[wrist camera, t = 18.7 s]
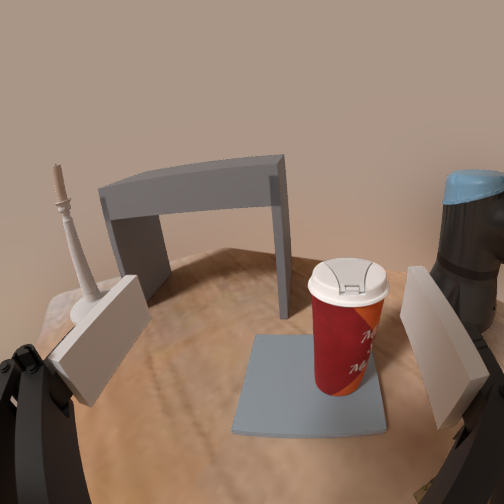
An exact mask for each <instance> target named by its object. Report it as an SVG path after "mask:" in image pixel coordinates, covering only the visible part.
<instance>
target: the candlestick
mask: <svg viewBox="0 0 504 504" xmlns="http://www.w3.org/2000/svg"><path fill="white" fill-rule="evenodd" d="M51 170H52V176H53V181H54V185H55V191H56V195H57V200H58V202H57V203H56V204H55V205H56V206H57V207H58V211H59V212H60V213H61V215H62V217H63V224H64V228H65V233H66V237H67V241H68V245H69V249H70V253H71V257H72V260H73V264H74V267H75V270H76V274H77V277H78V280H79V283H80V287H81V290H82V293H83V296H84V297H82V298H81V299H80V300H78V301H77V303H76V304H75V305H74V306H73V308H72V310H71V313H70V317H71V320H72V322H73V323H74V324H75V325H77V324H78V323H79V322H80V321H81V320H82V319H83V318H84V317H85V316H86V315H87V314H88V313H89V312H90V310H91V309H92V308H93V307H94V306H95V305H96V304H97V303H98V302H99V301H100V300H101V299H102V298H103V297H104V296H105V295H106V294H107V293H108V292H109V291H110V290H111V289H103V290H99V289H98V288H97V285H96V283H95V281H94V278H93V276H92V273H91V271H90V268H89V266H88V263H87V261H86V258H85V255H84V253H83V250H82V247H81V244H80V241H79V239H78V236H77V233H76V229H75V226H74V223H73V220H72V218H71V216H70V211H69V210H70V209H71V206H70V200H71V198H69V199H67V195H66V190H65V185H64V180H63V175H62V169H61V165H58V166H55V167H52V168H51Z"/></svg>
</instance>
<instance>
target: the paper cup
mask: <svg viewBox="0 0 504 504" xmlns="http://www.w3.org/2000/svg"><path fill="white" fill-rule="evenodd" d="M308 288H309V291H310V292H311V294H312V310H313V339H314V375H315V383H316V386H317V387H318V389H319V390H320V391H322V392H323V393H325V394H327V395H330V396H346V395H349V394H351V393H353V392H354V391H355V390H357V388H358V387H359V385H360V383H361V381H362V378H363V376H364V373H365V370H366V367H367V363H368V360H369V357H370V354H371V350H372V347H373V343H374V339H375V336H376V332H377V328H378V324H379V320H380V316H381V311H382V307H383V302H384V298H385V297H386V296H387V294H388V293H389V288H390V287H389V283H388V281H387V276H386V272H385V270H384V269H383V268H382V267H381V266H380V265H378V264H376V263H374V262H371V261H368V260H364V259H360V258H335V259H330V260H327V261H323V262H321V263H319V264H318V265H317V266H316V267H315V268H314V270H313V273H312V276H311V278H310V279H309V282H308Z"/></svg>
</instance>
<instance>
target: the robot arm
mask: <svg viewBox="0 0 504 504" xmlns="http://www.w3.org/2000/svg"><path fill="white" fill-rule="evenodd" d="M442 203H443V215H442V225H441V233H440V241H439V248H438V254H437V260H436V262H435V264H434V266H433V268H432V270H431V272H430V273H428V272H427V270H426V269H425V268H424V266H411V267H408V274H407V280H406V286H405V292H404V298H403V303H402V308H401V313H400V318H401V320H402V323H403V325H404V328H405V330H406V333H407V335H408V338H409V341H410V343H411V346H412V349H413V351H414V354H415V357H416V360H417V363H418V366H419V368H420V371H421V374H422V377H423V381H424V384H425V387H426V390H427V393H428V397H429V400H430V404H431V407H432V411H433V414H434V418H435V422H436V426H437V430H440V429H444V428H448V427H451V426H454V425H456V424H457V422H458V421H459V420H460V419H461V417H462V416H463V419H464V423H465V424H464V425H463V427H462V428H461V429H460V430H459V431H458V433H457V434H456V435H455V436H454V438H453V439H454V440H455V439H456V438H457V439H456V441H455V443H454V445H453V447H452V449H451V451H450V453H449V455H448V457H447V459H446V461H445V462H444V464H443V466H442V468H441V469H440V471H439V473H438V475H437V476H436V478H435V480H434V481H433V483H432V484H431V486H430V488H429V489H428V491H427V492H426V494H425V495H424V497H423V498H422V500H421V501H420V502H419V504H487V503H488V501H489V499H490V497H491V499H490V502H489V504H504V374H503V372H502V370H501V368H500V366H499V364H498V363H497V361H496V359H495V357H494V355H493V353H492V352H491V350H490V348H488V345H487V343H486V341H485V340H483V336H482V335H481V333H482V332H484V331H485V330H486V329H488V328H489V326H490V325H491V323H492V320H493V317H494V315H495V311H496V295H497V276H498V272H499V268H500V265H501V263H502V264H504V172H498V171H491V170H459V171H454V172H452V173H450V174H449V175H448V177H447V179H446V183H445V192H444V199H443V201H442ZM151 319H152V316H151V314H150V311H149V308H148V306H147V303H146V300H145V297H144V294H143V291H142V288H141V285H140V283H139V279H138V276H137V275H125V276H124V277H123V278H122V279H121V280H120V281H119V282H118V283H117V284H116V285H115V286H114V287H113V288H112V289H111V290H110V291H109V292H108V293H107V294H106V295H105V296H104V297H103V298H102V299H101V300H100V301H99V302H98V303H97V304H96V305H95V306H94V307H93V308H92V309H91V310H90V312H89V313H88V314H87V315H86V316H85V317H84V318H83V319H82V320H81V321H80V322H79V323H78V324H77V325H76V326H75V327H73V328H72V329H71V330H70V331H69V332H68V334H67V335H66V336H65V337H64V338H63V339H62V341H61V342H59V343H58V345H57V346H56V347H55V348H54V349H53V350H52V351H51V353H50V354H49V355H48V356H47V357H46V358H45V359H44V360H42V359H41V357H40V355H39V354H38V352H37V351H36V349H35V347H34V346H33V345H32V344H26V345H23V346H21V347H20V348H18V349H17V350H16V351H15V353H14V354H13V356H12V358H13V360H14V361H15V362H14V361H13V360H12V359H7V360H5V361H3V362H2V363H1V364H0V504H92V503H91V500H90V496H89V493H88V489H87V485H86V481H85V476H84V472H83V467H82V462H81V457H80V451H79V445H78V438H77V431H76V423H75V414H74V404H73V401H72V400H71V399H70V398H71V397H72V395H74V396H75V397H76V399H77V400H78V401H79V403H81V404H84V405H86V406H89V407H91V408H92V406H93V405H94V403H95V402H96V400H97V399H98V397H99V395H100V394H101V392H102V391H103V389H104V388H105V386H106V385H107V383H108V382H109V380H110V379H111V377H112V376H113V374H114V373H115V371H116V370H117V368H118V367H119V365H120V364H121V362H122V361H123V359H124V358H125V356H126V355H127V353H128V352H129V350H130V349H131V347H132V346H133V344H134V343H135V342H136V340H137V339H138V337H139V336H140V334H141V333H142V331H143V330H144V329H145V327H146V326H147V324H148V323H149V321H150V320H151ZM16 364H17V365H16ZM18 367H19V368H18ZM11 396H13V397H14V399H15V400H16V401H17V402H18V403H17V407H16V406H15V405H14V404H13V403H12V402H11V401H10V399H11Z"/></svg>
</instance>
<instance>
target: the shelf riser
mask: <svg viewBox="0 0 504 504" xmlns="http://www.w3.org/2000/svg"><path fill="white" fill-rule="evenodd" d="M98 192H99V196H100V201H101V205H102V210H103V214H104V218H105V222H106V226H107V230H108V234H109V238H110V241H111V245H112V249H113V252H114V256H115V259H116V262H117V265H118V268H119V272H120V275H121V278H123V277H124V276H125V275H137V276H138V279H139V283H140V285H141V288H142V291H143V294H144V297H145V300H146V303H147V302H148V300H149V299H150V298H151V297H152V296H153V294H154V293H155V292H156V291H157V290H158V288H159V287H160V286H161V285H162V284H163V282H164V281H165V280H166V279H167V278H168V276H169V275H170V274H171V273H172V272H171V268H170V264H169V260H168V256H167V251H166V247H165V243H164V238H163V234H162V230H161V225H160V220H159V215H161V214H171V213H182V212H194V211H205V210H219V209H232V208H248V207H265V206H271V207H272V218H273V230H274V242H275V255H276V268H277V281H278V295H279V310H280V319H288V311H289V301H290V290H291V279H292V257H291V239H290V225H289V209H288V195H287V182H286V170H285V160H284V155H283V154H282V155H268V156H256V157H245V158H235V159H226V160H218V161H210V162H203V163H195V164H189V165H183V166H176V167H170V168H164V169H158V170H152V171H147V172H144V173H140V174H137V175H135V176H132V177H129V178H126V179H123V180H121V181H117V182H115V183H112V184H109V185H107V186H104V187H102V188H99V189H98Z"/></svg>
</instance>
